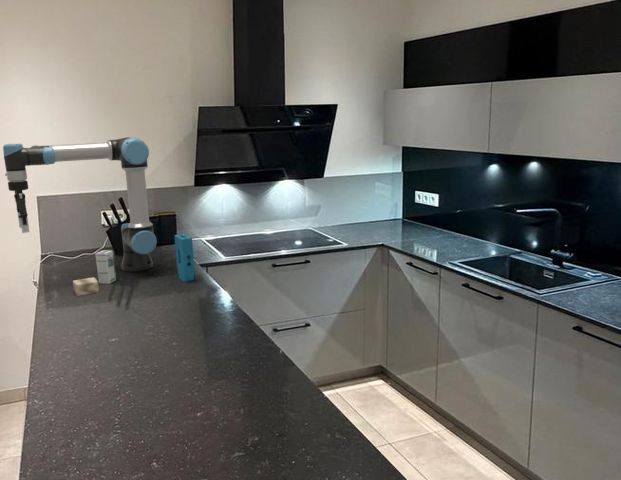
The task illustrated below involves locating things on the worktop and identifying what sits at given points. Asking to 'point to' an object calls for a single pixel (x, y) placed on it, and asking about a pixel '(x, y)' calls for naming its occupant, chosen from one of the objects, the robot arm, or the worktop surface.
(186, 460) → the worktop surface
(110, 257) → the syrup box
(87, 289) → the birch block
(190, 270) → the block
